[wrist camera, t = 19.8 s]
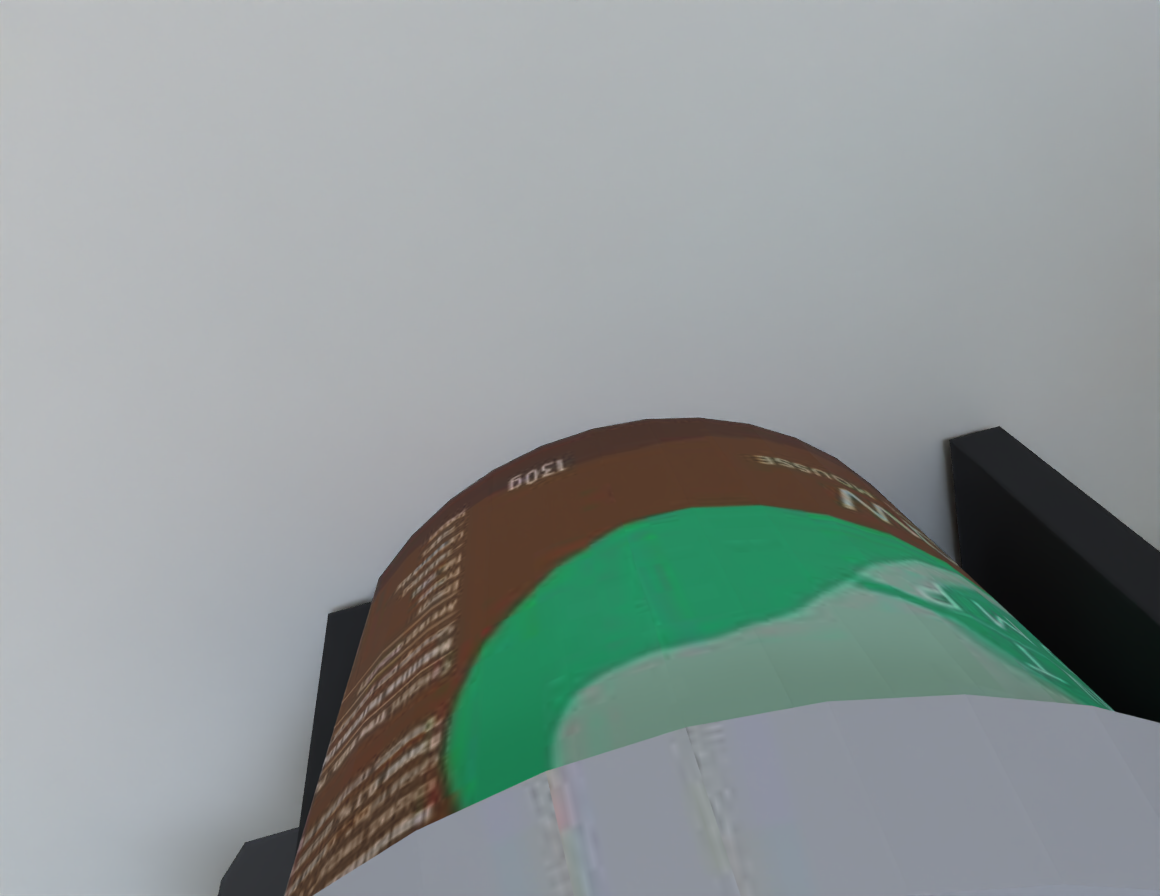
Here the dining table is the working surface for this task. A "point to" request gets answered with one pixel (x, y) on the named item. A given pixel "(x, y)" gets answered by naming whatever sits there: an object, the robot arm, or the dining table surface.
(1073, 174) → the dining table surface
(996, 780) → the food container
